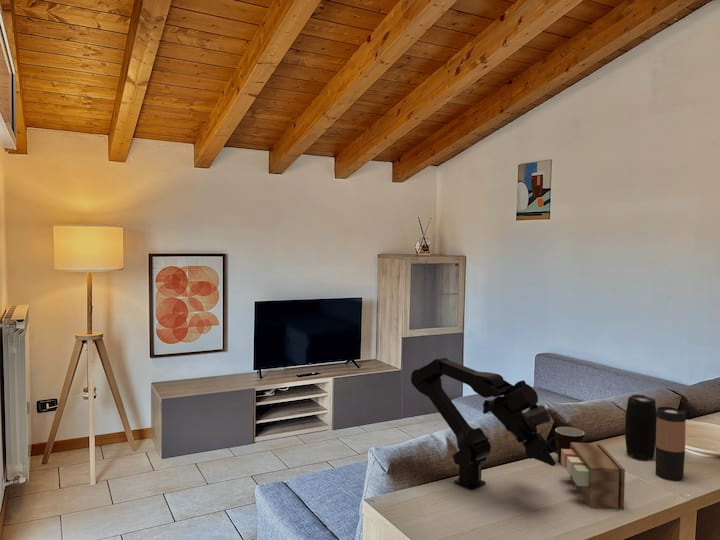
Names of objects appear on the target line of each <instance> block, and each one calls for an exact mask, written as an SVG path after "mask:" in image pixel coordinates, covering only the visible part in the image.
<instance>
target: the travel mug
mask: <svg viewBox="0 0 720 540" xmlns="http://www.w3.org/2000/svg"><path fill="white" fill-rule="evenodd" d="M656 412H657V421H656V447H655V474H656V476H657V477H659V478H661V479H663V480H667V481H672V482H681V481H683V480H682V479H684V471H685V458H686V457H685V455H686V422H687V421H686V419H687V418H686V417H687V415H686V411H685V410H678V409H677V408H676V407H672V406H659V407H656Z"/></svg>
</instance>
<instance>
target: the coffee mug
mask: <svg viewBox="0 0 720 540" xmlns="http://www.w3.org/2000/svg"><path fill="white" fill-rule="evenodd" d="M554 430H555V436H553V437H551V438H550V439H548V445H547V446H548V448H549V449H550V450H551V451H552V453H553V452H554V453H555V454H556V455H557V459H558V460H557V462H558V463H559V464H560V463H561V449H570V442H577V443H584V439H585V431H583V430H581V429H578V428H575V427H570V426H559V427H556V428H555V429H554ZM554 440H556V441H555V443H556V450H557V451H556V450H555V449H553V448H552V446H551V443H552V441H554ZM560 465H562V463H561V464H560Z"/></svg>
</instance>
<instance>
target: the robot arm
mask: <svg viewBox="0 0 720 540" xmlns="http://www.w3.org/2000/svg"><path fill="white" fill-rule="evenodd" d="M443 376H447V377H449V378H451V379H454V380H456V381H458V382H461V383H463V384H465V385H468V386H469V387H470V388H471V389H472V391H473V392H474V393H476V394H477V395H479V396H481V397H482V398H486V399H485V400H484V401H483V403H482V406H483V410H482V413H483V414H484V415H486V414H487V413H489V412H490V413H491V414H492V415H493V416H494V417H495V418H496V419H497V421H499V422H500V423H501V424H502V425H503V426H504V428H505V429H506V431H508V432H509V433H510V434H512V436H513V437H514V438H515V440H516V441H517V442H518V443H519V444H520V443H522V444H521V445H522V448H521V449H522V451H523V453H524V455H526V456H527V458H529V459H530V460H531V459H534V460H536V461H540V462H541V463H545V464H547V465H549V466H552V467H554V466H556V465H557V462H556V461H555V460H554V457H553V456H552V455H551V453H550V451H548V449H547V447H548V446H549V445H548V443H549V441H547V439H546V438H545V437H544V436H543V435H542V434H541V433H540V432H538V429H537V428H538V427H537V426H540V425H543V424H546V423H549V422H551V421H552V418H551V416H550V414H549V412H548V410H547V408H546V407H545V406H544V405H542V404H539V405H538V402H539V396H538V393H537V392H536V390H535V389H534V388H533V387H532V386H531V385H529V384H527V382H526V381H525V380H520V381H518V382H516V383H514V385H513V384H511V383H509V382H508V381H506V380H505V379H504V377H503V376H502V375H501V374H499V373H493V372H488V371H478V370H475V369H472V368H471V367H467V366H464V364H463V365H462V364H459V363H457V362H455V361H452V360H450V359H448V358H446V357H439V358H435V359H434V360H432V361H431V362H430V363H428V364H425V365H424V366H422V367H420V368H417V369H414V370H413V371H412V373H411V375H410V382H411V385H413V387H414V388H415V389H416V390H417V391H418V392H419V393H420V394H423V395H424V396H425V397H427V398H428V399H429V400H430V402H432V404H433V406H434V407H435V408H436V410H437V411H438V413H439V414H440V415H441V417H442V418H443V420H444V421H445V422H446V424H447V425H448V427H449V428H450V430H451V431H452V432H453V433H454V435H455V437H456V445H457V449H458V451H457V452H456V453H455V454H454V453H453V456H452V458H453V462H454V464H455V465H458V478H457V479H455V480H454V484H457V485H459V486H462V487H464V488H466V489H469V490H471V491H472V490H476V489H477V488H479V487H481V486H484V485H485V484H486V481H484V480H482V463H483V462H486V461H487V458H488V457H489V456H490V454H491V451H492V450H491V446H492V445H491V443H490V438H489V437H488V436H487V435H486V434H485V433H484V431H483V429H482V428H480V427H477V428H473V427H472V426H470V425H469V423H468V421H467V420H466V419H465V417H464V416H463V415H462V414H461V412H460V410H459V409H458V408H457V407H456V405H455V404H454V402H453V401H452V399H450V397H449V396H448V394H447V393H446V391H445V390H444V388H443V385H442V384H443V383H442V377H443ZM491 397H494V398H493V399H490V400H487V398H491ZM527 409H528V410H527ZM525 410H527V411H525ZM523 411H525V412H523Z"/></svg>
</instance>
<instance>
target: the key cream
mask: <svg viewBox="0 0 720 540" xmlns="http://www.w3.org/2000/svg"><path fill="white" fill-rule="evenodd" d="M573 465H583V460H582V459H581V457H567V468H566V472H567V474H568V475H569V477H570V476H573Z"/></svg>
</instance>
